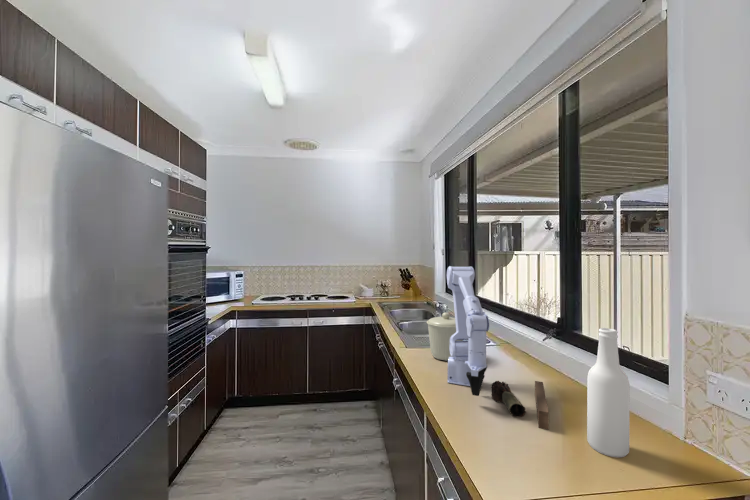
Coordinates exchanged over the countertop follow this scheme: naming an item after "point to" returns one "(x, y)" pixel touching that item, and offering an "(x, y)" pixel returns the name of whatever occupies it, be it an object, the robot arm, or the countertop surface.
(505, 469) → the countertop surface
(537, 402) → the brown wooden plank
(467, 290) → the robot arm
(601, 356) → the alcohol
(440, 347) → the canister
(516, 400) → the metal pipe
